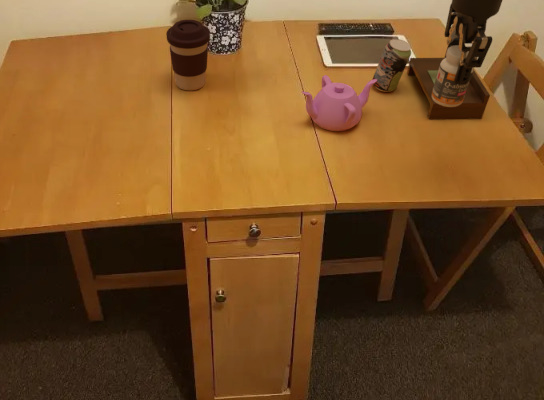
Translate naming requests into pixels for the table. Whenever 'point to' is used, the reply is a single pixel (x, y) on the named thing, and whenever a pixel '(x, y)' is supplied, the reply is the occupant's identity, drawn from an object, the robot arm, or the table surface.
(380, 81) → the beverage can
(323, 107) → the teapot
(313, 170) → the table surface
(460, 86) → the pill bottle
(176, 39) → the coffee cup
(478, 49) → the robot arm
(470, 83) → the shelf
